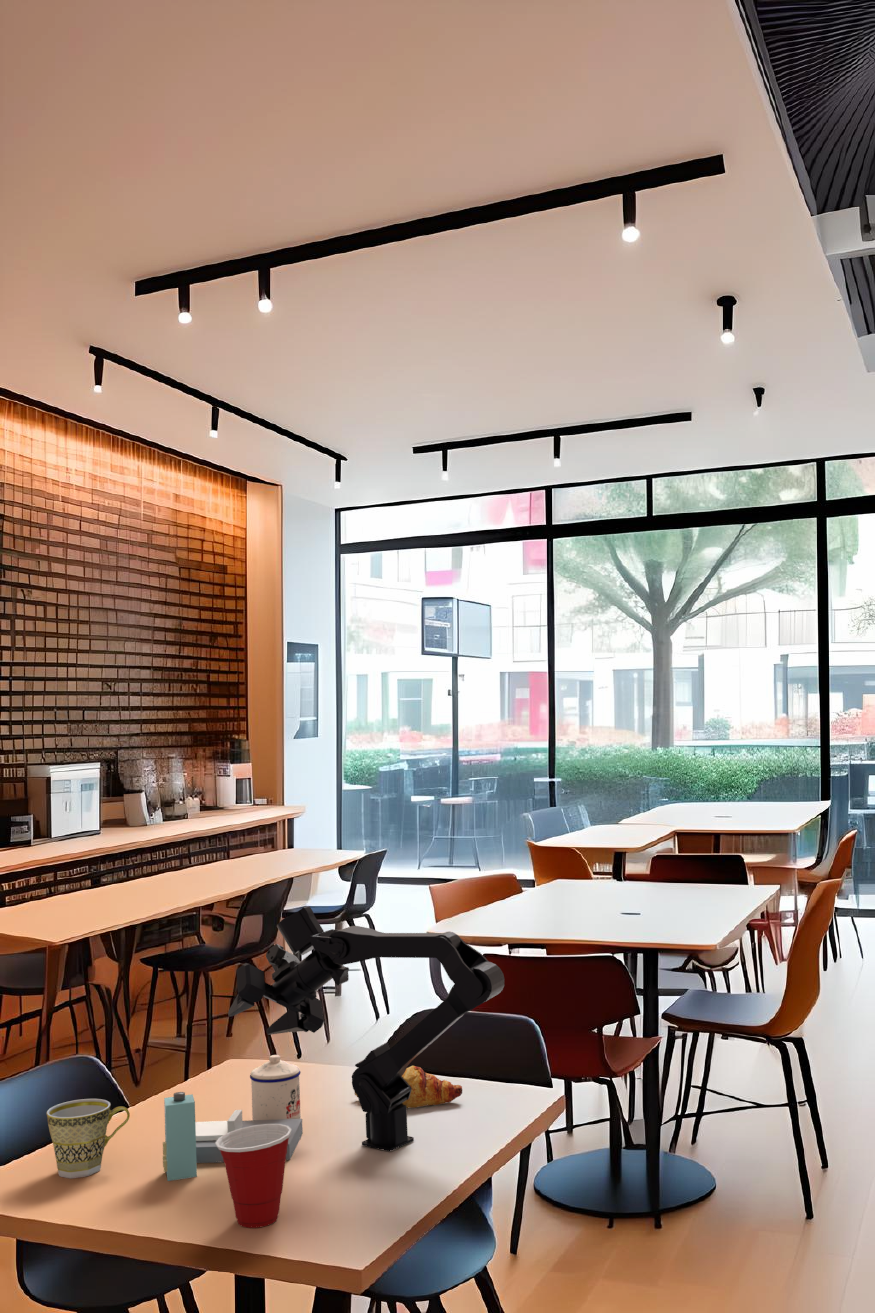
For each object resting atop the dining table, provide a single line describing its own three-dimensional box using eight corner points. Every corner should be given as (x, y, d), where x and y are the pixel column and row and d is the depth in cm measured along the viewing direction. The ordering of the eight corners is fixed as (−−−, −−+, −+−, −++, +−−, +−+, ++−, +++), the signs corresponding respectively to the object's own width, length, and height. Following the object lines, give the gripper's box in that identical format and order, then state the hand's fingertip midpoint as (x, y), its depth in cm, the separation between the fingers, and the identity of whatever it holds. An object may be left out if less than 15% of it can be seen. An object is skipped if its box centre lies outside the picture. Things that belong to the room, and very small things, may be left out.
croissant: (351, 1124, 213) (343, 1092, 210) (363, 1085, 222) (355, 1053, 219) (461, 1124, 209) (455, 1091, 206) (469, 1084, 218) (462, 1051, 215)
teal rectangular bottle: (194, 1167, 184) (192, 1088, 185) (196, 1176, 180) (194, 1095, 181) (162, 1172, 183) (160, 1092, 184) (164, 1181, 178) (162, 1099, 180)
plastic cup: (236, 1203, 168) (233, 1119, 169) (305, 1206, 166) (302, 1122, 167) (204, 1234, 158) (202, 1145, 159) (277, 1238, 155) (274, 1147, 156)
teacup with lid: (297, 1130, 201) (294, 1062, 202) (246, 1131, 201) (244, 1063, 202) (308, 1108, 213) (306, 1044, 214) (260, 1110, 213) (258, 1046, 214)
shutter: (243, 1125, 196) (243, 1108, 197) (233, 1139, 189) (233, 1122, 189) (194, 1126, 197) (194, 1110, 197) (183, 1141, 189) (182, 1124, 189)
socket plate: (302, 1133, 198) (302, 1118, 199) (289, 1160, 185) (289, 1144, 186) (194, 1137, 199) (194, 1122, 199) (174, 1163, 186) (174, 1148, 186)
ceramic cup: (45, 1186, 179) (44, 1121, 180) (49, 1165, 188) (48, 1103, 189) (130, 1174, 182) (129, 1110, 183) (130, 1154, 192) (129, 1093, 193)
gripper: (341, 959, 211) (283, 1005, 215) (266, 919, 201) (207, 968, 205) (348, 1009, 202) (288, 1055, 206) (271, 969, 192) (209, 1019, 196)
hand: (248, 1023), depth 204 cm, fingers open, 9 cm apart
